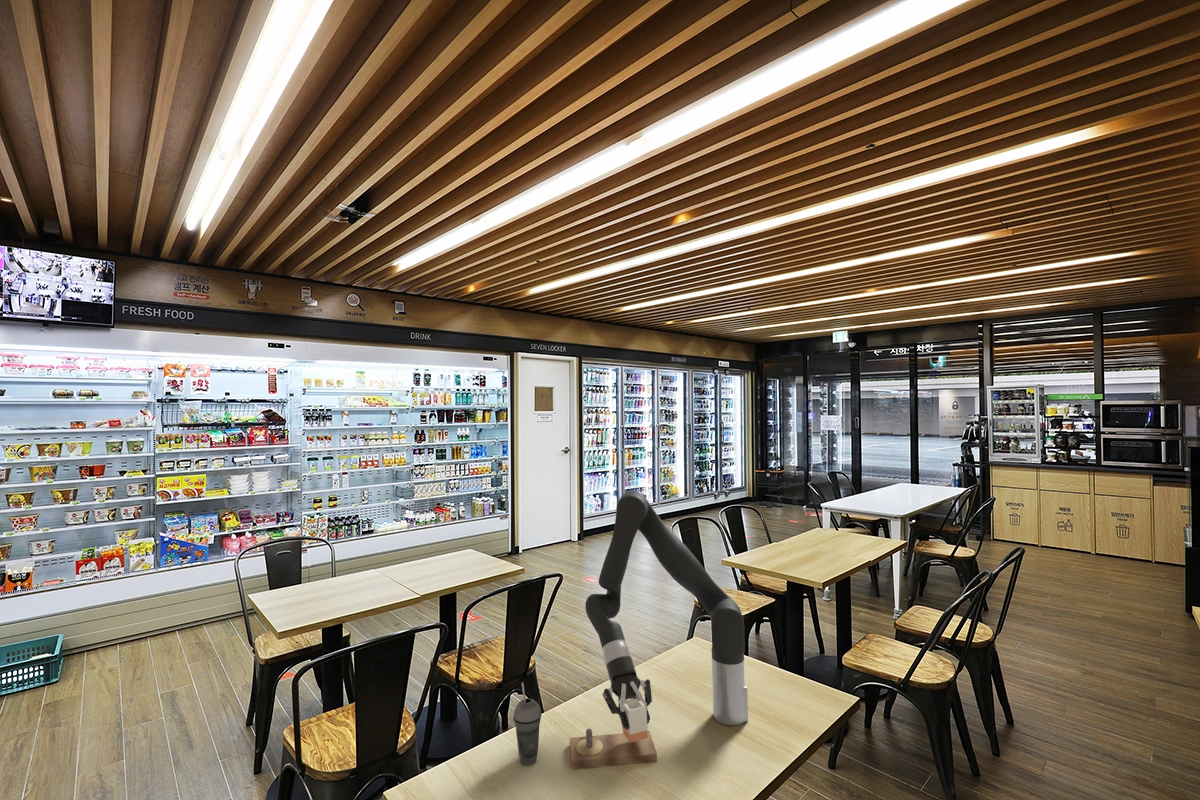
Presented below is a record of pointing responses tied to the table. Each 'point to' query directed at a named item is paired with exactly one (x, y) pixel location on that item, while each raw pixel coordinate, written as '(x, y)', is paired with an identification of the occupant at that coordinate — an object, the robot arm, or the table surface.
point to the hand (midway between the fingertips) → (637, 725)
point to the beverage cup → (527, 729)
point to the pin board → (610, 750)
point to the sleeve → (636, 720)
